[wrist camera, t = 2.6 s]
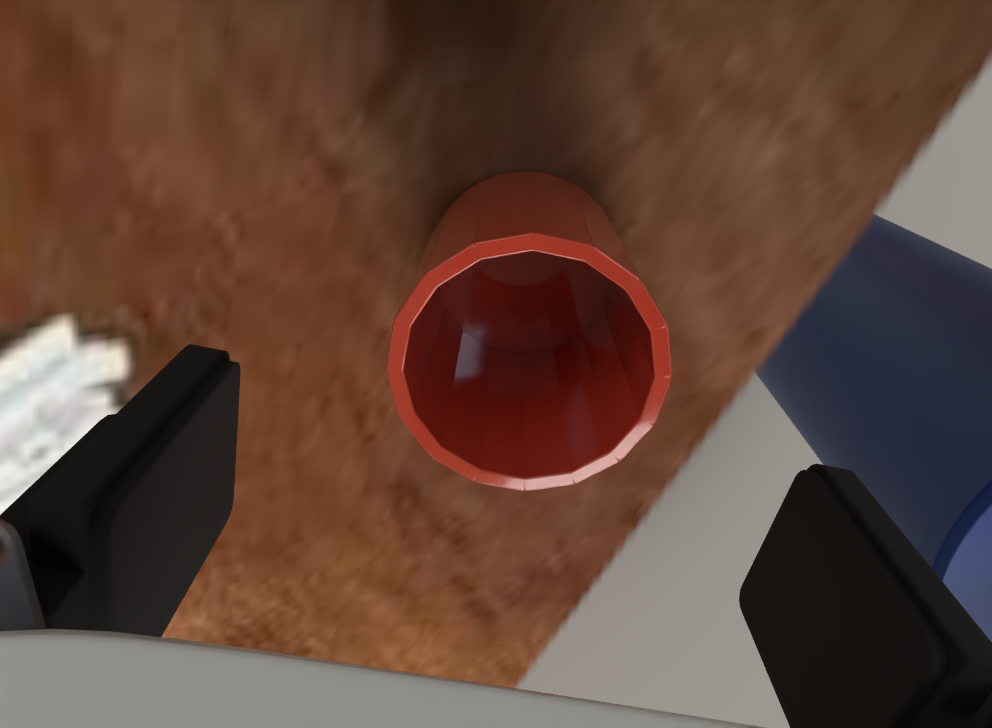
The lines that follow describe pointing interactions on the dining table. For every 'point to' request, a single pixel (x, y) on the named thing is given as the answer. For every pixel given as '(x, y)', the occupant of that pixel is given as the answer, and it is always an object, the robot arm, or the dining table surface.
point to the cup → (528, 338)
